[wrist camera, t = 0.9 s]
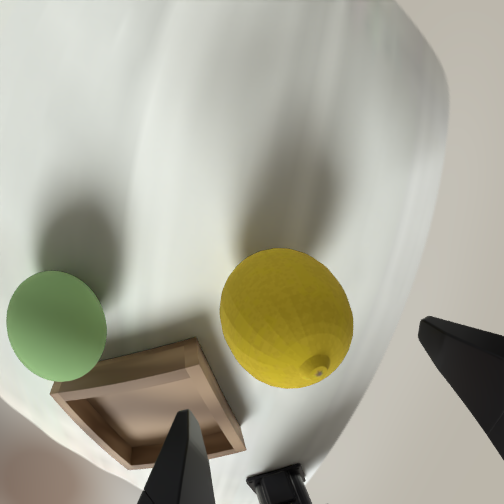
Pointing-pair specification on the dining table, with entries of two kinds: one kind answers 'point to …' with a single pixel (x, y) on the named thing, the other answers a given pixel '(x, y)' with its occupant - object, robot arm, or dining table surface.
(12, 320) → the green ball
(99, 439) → the walnut tray
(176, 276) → the dining table surface
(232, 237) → the dining table surface
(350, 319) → the lemon
